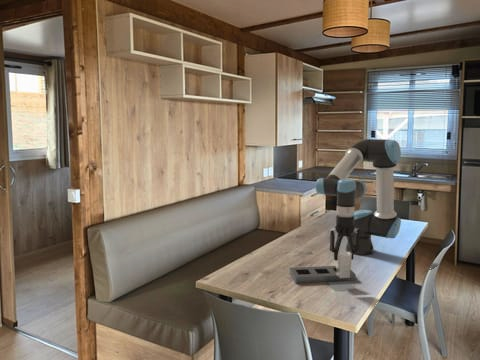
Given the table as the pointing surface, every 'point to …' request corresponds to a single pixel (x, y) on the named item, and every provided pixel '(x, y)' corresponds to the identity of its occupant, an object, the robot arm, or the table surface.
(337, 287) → the slate pad
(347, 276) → the steel block
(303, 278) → the grey slotted block
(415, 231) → the table surface
